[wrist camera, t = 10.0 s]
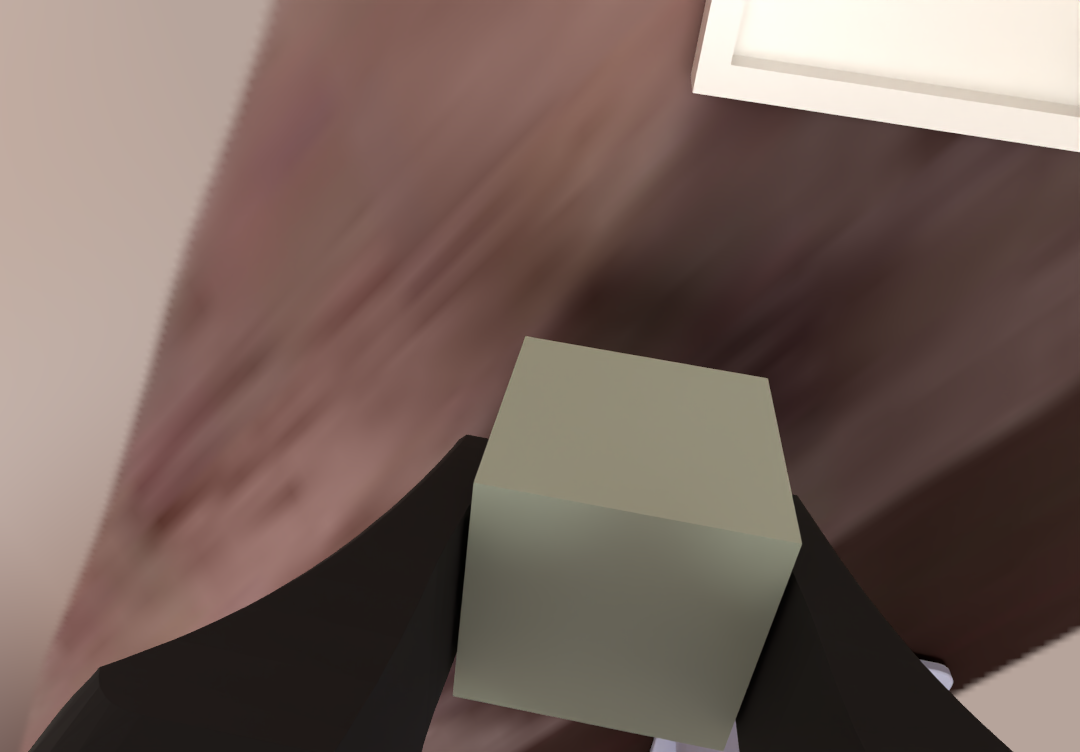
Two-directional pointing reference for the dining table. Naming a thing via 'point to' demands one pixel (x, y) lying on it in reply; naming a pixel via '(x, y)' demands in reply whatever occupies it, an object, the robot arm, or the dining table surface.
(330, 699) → the robot arm
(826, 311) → the dining table surface
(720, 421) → the sage block
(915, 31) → the tray
